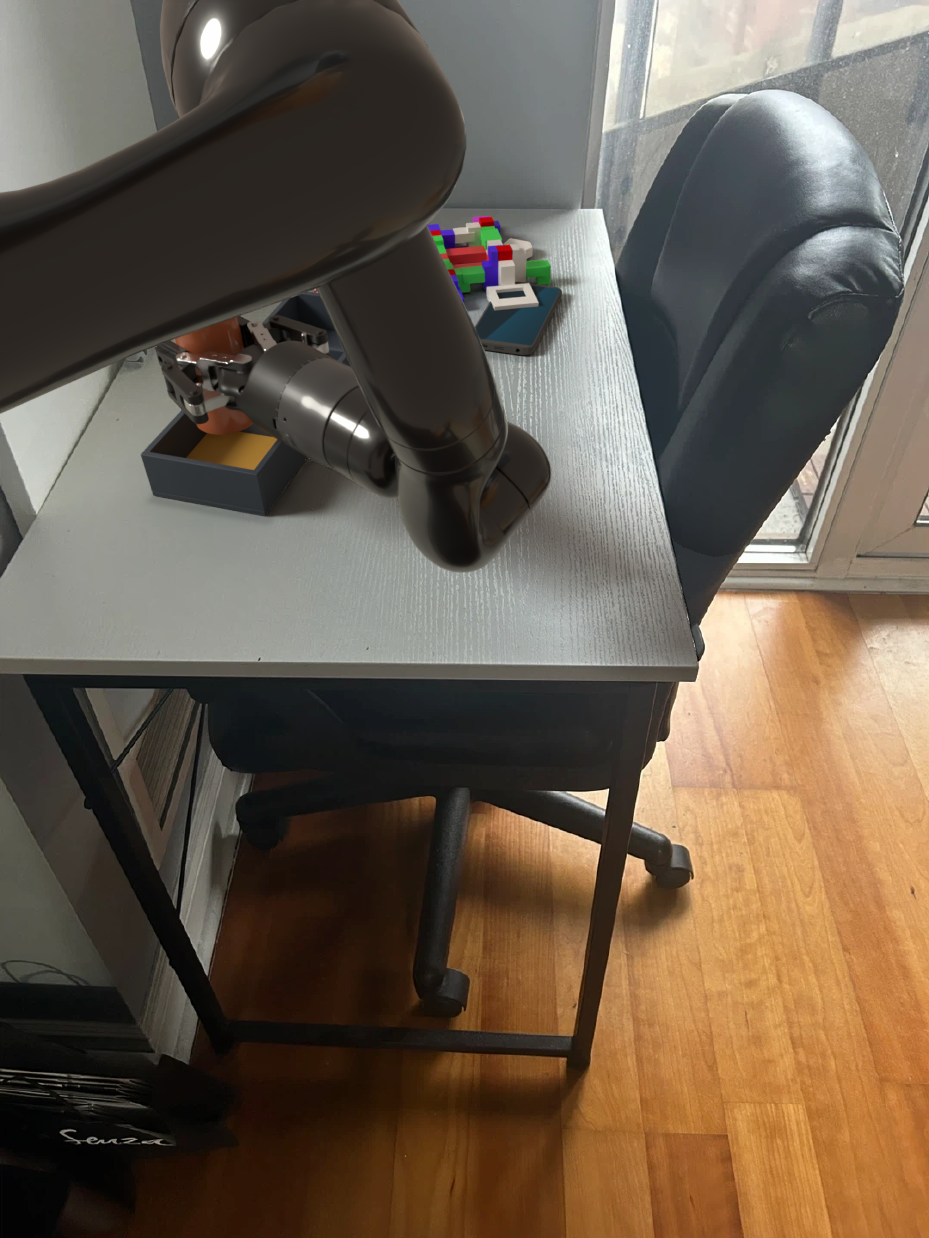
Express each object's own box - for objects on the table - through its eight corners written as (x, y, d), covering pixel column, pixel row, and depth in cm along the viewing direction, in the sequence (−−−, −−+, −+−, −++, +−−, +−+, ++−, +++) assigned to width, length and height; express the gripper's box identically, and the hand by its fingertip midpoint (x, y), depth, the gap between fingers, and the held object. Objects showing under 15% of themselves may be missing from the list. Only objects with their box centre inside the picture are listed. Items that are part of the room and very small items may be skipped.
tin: (240, 438, 81) (211, 307, 73) (184, 429, 82) (148, 299, 74) (268, 405, 85) (243, 277, 76) (213, 397, 86) (182, 270, 78)
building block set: (366, 238, 124) (363, 203, 121) (519, 225, 126) (520, 190, 123) (385, 326, 106) (382, 288, 103) (563, 309, 108) (565, 271, 105)
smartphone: (465, 347, 103) (465, 339, 102) (502, 286, 113) (502, 279, 112) (532, 356, 101) (533, 349, 100) (564, 294, 111) (564, 286, 111)
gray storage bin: (265, 516, 83) (257, 474, 80) (153, 495, 85) (140, 454, 82) (390, 340, 105) (387, 301, 101) (298, 327, 107) (292, 289, 104)
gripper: (385, 327, 73) (251, 264, 81) (233, 403, 65) (104, 325, 74) (392, 411, 78) (266, 344, 86) (253, 490, 71) (130, 408, 79)
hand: (192, 336), depth 80 cm, fingers closed on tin, 5 cm apart
